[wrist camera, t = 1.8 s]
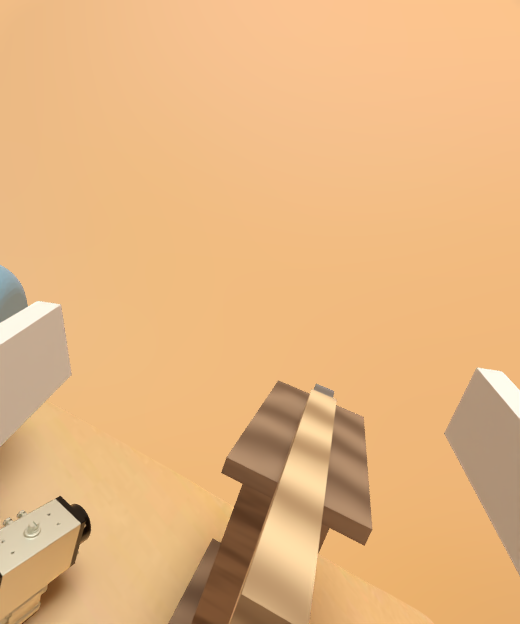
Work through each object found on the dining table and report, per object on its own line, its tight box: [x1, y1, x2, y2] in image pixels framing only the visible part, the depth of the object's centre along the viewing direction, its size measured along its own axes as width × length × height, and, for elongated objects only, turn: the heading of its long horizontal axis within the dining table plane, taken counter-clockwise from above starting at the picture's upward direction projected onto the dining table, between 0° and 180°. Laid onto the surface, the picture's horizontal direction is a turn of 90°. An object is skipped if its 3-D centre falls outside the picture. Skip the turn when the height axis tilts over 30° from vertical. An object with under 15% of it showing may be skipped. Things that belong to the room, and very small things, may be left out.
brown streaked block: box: [229, 384, 336, 624], centre depth 29 cm, size 30×3×3 cm, turn 164°
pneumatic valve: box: [0, 496, 91, 624], centre depth 35 cm, size 6×12×12 cm, turn 152°
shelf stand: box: [168, 381, 372, 624], centre depth 39 cm, size 20×14×28 cm
